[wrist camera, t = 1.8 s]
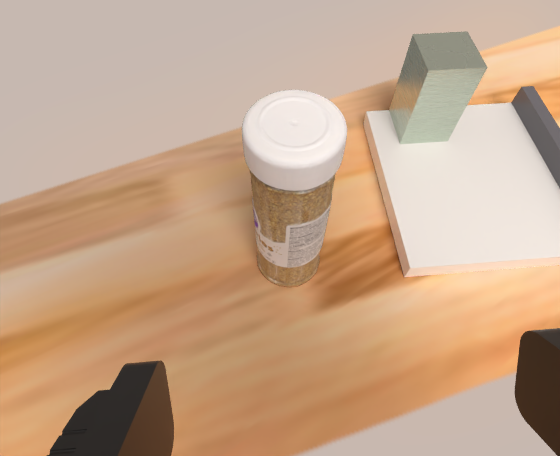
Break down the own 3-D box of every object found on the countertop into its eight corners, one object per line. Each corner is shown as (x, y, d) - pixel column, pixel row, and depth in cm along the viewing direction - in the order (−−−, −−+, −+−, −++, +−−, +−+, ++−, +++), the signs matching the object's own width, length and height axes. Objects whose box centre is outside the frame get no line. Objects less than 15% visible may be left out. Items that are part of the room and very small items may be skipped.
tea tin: (400, 144, 31) (428, 70, 25) (388, 110, 33) (412, 34, 27) (447, 141, 31) (487, 67, 25) (433, 107, 33) (467, 31, 27)
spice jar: (248, 246, 28) (225, 101, 17) (303, 224, 29) (318, 74, 18) (272, 300, 26) (265, 178, 15) (331, 275, 27) (369, 142, 15)
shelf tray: (404, 277, 27) (418, 257, 24) (363, 124, 35) (370, 95, 32) (596, 262, 28) (632, 240, 25) (514, 114, 35) (534, 86, 32)
